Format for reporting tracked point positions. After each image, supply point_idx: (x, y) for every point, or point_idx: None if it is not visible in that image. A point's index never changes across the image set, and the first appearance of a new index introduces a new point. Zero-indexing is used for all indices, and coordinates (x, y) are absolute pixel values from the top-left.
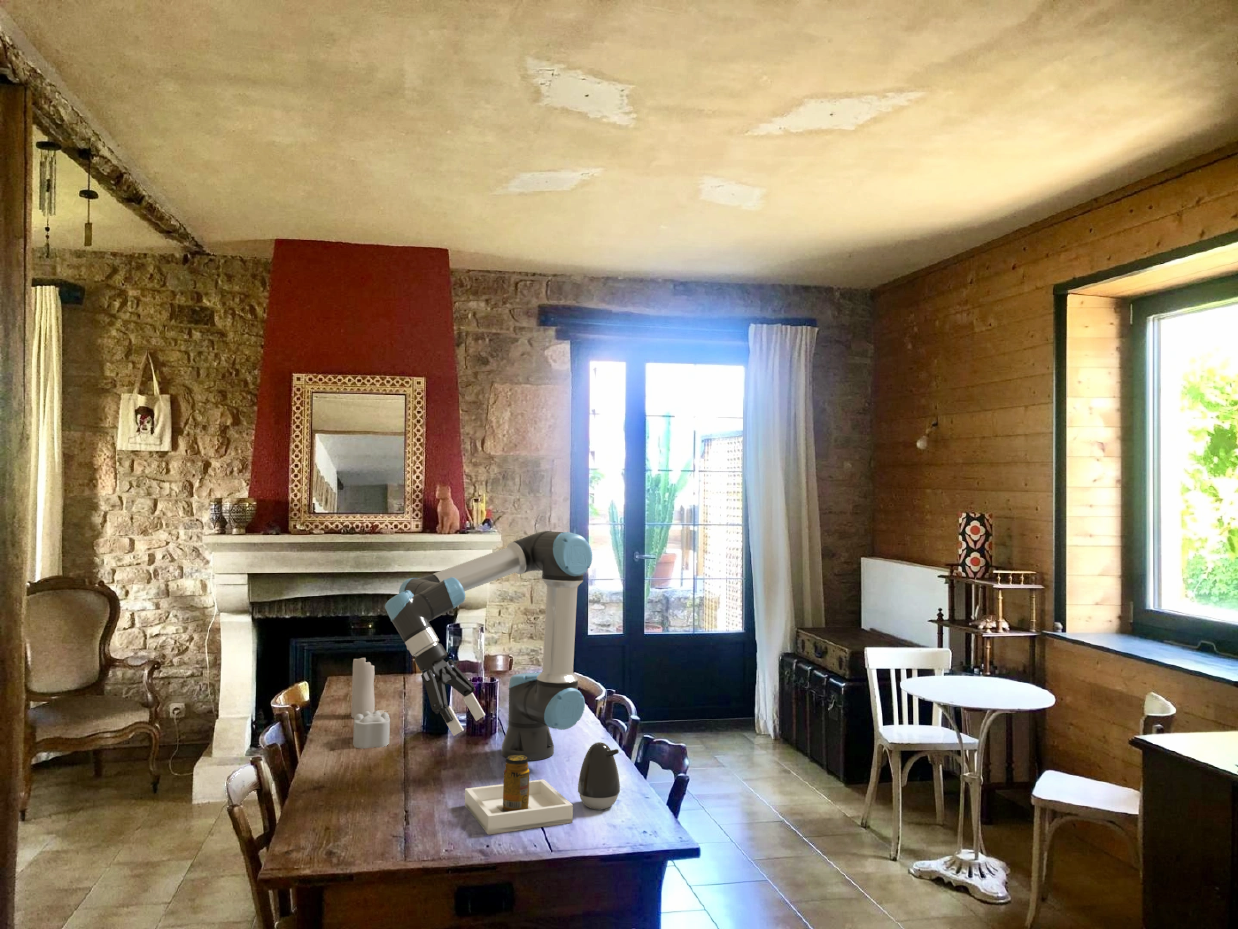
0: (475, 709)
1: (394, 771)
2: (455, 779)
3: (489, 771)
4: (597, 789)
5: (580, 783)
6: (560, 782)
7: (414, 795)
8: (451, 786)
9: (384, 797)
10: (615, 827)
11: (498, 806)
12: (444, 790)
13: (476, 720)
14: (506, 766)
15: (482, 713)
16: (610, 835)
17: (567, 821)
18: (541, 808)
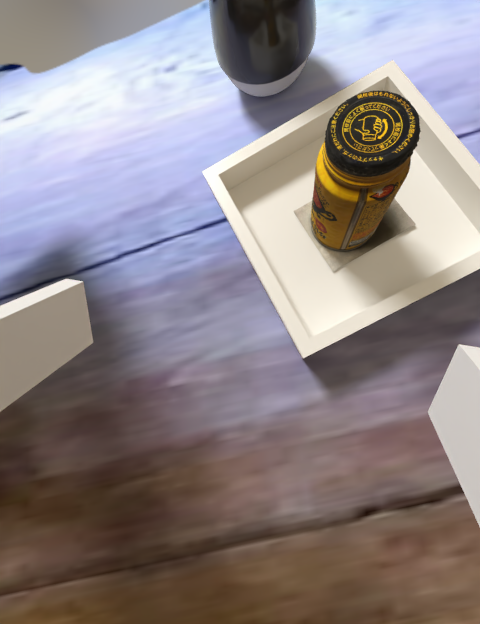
0: (33, 342)
1: (49, 617)
2: (110, 424)
3: None
4: (315, 9)
5: (288, 48)
6: (125, 179)
7: (238, 514)
8: (162, 424)
9: (263, 605)
10: (391, 16)
11: (336, 264)
12: (193, 437)
13: (90, 339)
14: (394, 176)
15: (69, 291)
16: (442, 13)
17: None
18: (436, 121)
